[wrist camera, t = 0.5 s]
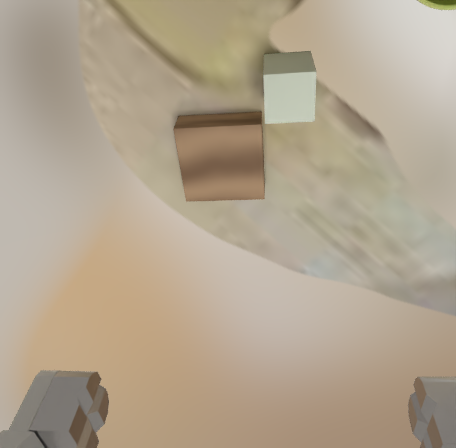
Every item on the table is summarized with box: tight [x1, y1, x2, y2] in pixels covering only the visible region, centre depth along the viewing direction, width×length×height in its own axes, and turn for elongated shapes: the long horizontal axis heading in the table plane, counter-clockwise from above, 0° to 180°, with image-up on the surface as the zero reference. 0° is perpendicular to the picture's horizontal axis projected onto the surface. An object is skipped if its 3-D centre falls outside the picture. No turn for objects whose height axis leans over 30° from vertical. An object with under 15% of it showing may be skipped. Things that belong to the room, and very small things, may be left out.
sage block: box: [263, 51, 316, 124], centre depth 44 cm, size 5×5×7 cm
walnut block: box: [174, 112, 265, 201], centre depth 52 cm, size 10×10×4 cm
